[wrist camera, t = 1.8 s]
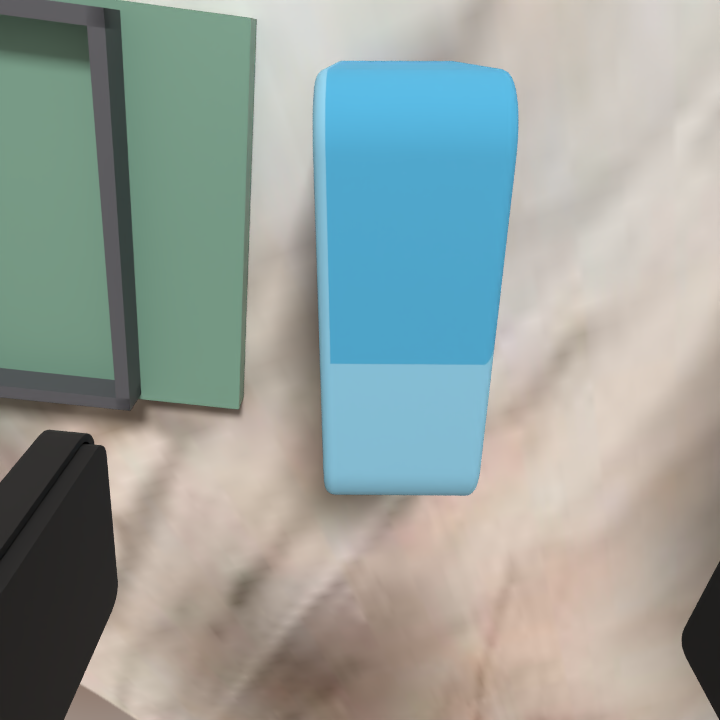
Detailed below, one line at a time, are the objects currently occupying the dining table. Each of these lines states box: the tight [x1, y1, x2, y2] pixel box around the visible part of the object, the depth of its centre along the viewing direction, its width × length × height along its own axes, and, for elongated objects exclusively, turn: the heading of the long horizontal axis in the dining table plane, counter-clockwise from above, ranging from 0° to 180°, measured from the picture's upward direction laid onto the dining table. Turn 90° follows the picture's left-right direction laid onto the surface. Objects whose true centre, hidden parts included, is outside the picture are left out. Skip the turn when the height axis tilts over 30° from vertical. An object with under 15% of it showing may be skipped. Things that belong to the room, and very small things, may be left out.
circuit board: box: [0, 0, 257, 411], centre depth 25 cm, size 18×16×3 cm
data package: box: [313, 61, 518, 496], centre depth 21 cm, size 12×4×12 cm, turn 0°
